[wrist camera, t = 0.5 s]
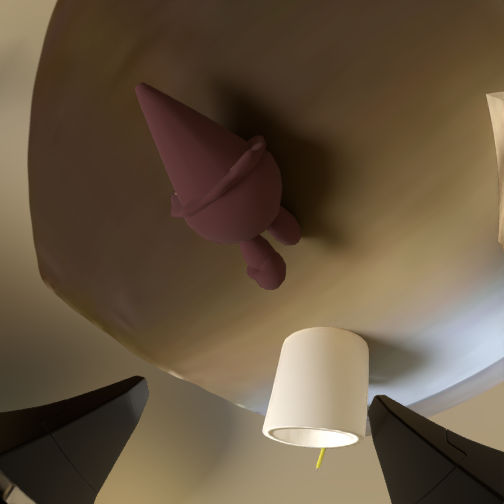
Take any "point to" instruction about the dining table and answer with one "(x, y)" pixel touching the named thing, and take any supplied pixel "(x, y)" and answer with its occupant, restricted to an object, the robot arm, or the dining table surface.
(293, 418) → the mug
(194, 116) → the icecream
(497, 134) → the cream and gold block
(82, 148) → the dining table surface
